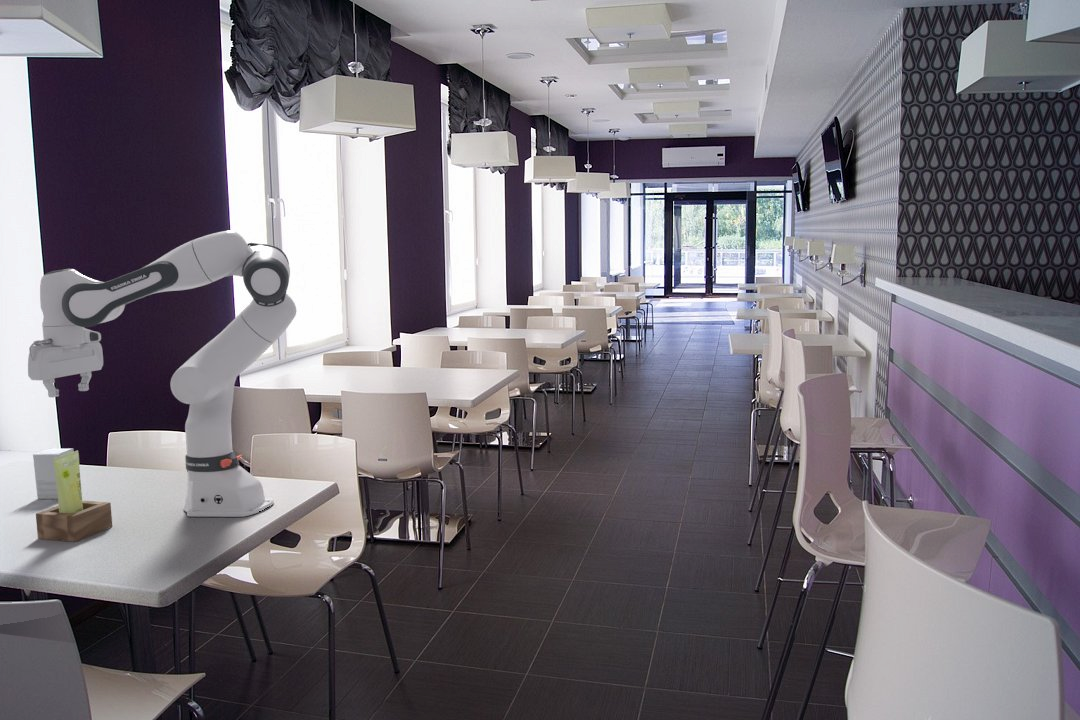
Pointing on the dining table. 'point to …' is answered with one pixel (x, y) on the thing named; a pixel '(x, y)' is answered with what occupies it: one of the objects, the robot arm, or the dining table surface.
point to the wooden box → (74, 522)
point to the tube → (68, 483)
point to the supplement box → (47, 472)
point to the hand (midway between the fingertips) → (69, 393)
